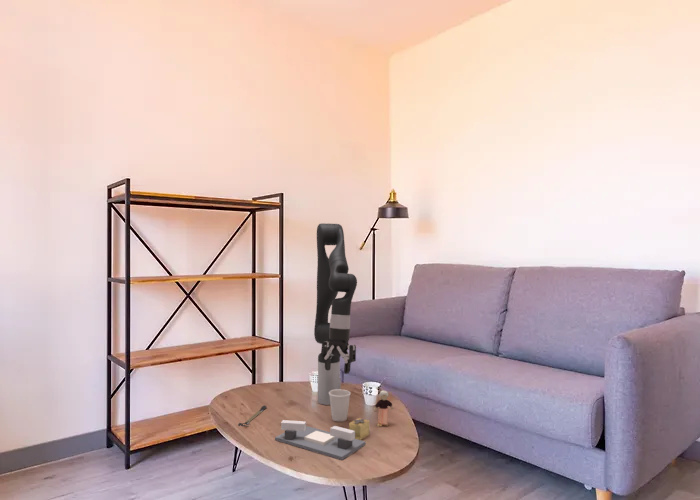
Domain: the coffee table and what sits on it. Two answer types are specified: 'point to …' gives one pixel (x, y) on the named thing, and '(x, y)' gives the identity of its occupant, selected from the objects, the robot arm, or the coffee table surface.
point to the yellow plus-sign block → (360, 428)
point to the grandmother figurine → (383, 409)
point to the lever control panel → (320, 439)
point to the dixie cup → (339, 404)
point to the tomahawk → (253, 416)
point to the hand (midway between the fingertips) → (336, 371)
